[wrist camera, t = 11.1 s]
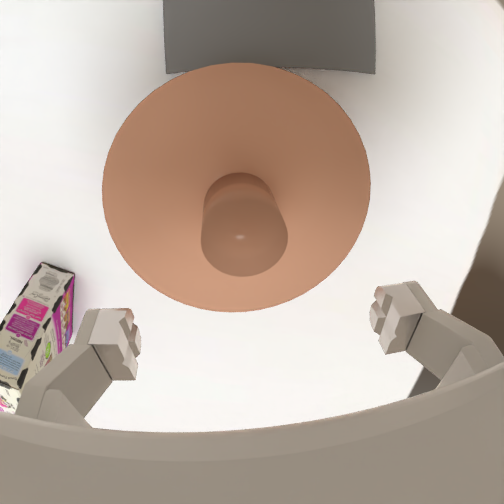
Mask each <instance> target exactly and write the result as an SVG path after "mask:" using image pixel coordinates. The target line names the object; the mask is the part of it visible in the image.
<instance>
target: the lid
mask: <svg viewBox="0 0 504 504" xmlns="http://www.w3.org/2000/svg"><path fill="white" fill-rule="evenodd" d="M370 185H371V182H370V170H369V164H368V159H367V155H366V151H365V148H364V146H363V143H362V140H361V138H360V135H359V133H358V132H357V130H356V128H355V126H354V125H353V123H352V121H351V119H350V118H349V117H348V116H347V114H346V113H345V112H344V110H343V109H342V108H341V107H340V105H338V104H337V103H336V102H335V101H334V100H333V99H332V98H331V97H330V96H329V95H328V94H327V93H326V92H324V91H323V90H322V89H320V88H319V87H317V86H316V85H314V84H313V83H311V82H310V81H308V80H306V79H304V78H302V77H300V76H298V75H296V74H294V73H291V72H288V71H285V70H282V69H279V68H276V67H273V66H267V65H261V64H255V63H225V64H217V65H210V66H207V67H203V68H199V69H196V70H193V71H190V72H187V73H185V74H183V75H180V76H178V77H176V78H174V79H172V80H170V81H168V82H167V83H165V84H164V85H162V86H161V87H159V88H157V89H156V90H154V91H153V92H152V93H151V94H150V95H148V96H147V97H146V98H145V99H144V100H143V101H142V102H140V103H139V104H138V105H137V107H136V108H135V109H134V110H133V111H132V112H131V114H130V115H129V116H128V117H127V118H126V120H125V121H124V123H123V125H122V126H121V128H120V129H119V131H118V133H117V134H116V136H115V138H114V141H113V143H112V145H111V148H110V150H109V152H108V156H107V160H106V164H105V167H104V174H103V182H102V201H103V208H104V214H105V219H106V223H107V226H108V229H109V232H110V235H111V237H112V239H113V241H114V243H115V245H116V247H117V249H118V251H119V252H120V254H121V255H122V257H123V258H124V260H125V261H126V262H127V264H128V265H129V266H130V267H131V268H132V269H133V270H134V272H135V273H136V274H137V275H138V276H140V277H141V278H142V279H143V280H144V281H145V282H146V283H147V284H149V285H150V286H152V287H153V288H155V289H156V290H157V291H159V292H160V293H162V294H164V295H166V296H168V297H170V298H172V299H174V300H176V301H179V302H181V303H183V304H186V305H189V306H193V307H196V308H200V309H205V310H211V311H219V312H247V311H254V310H261V309H265V308H269V307H273V306H276V305H279V304H282V303H285V302H287V301H290V300H292V299H294V298H296V297H298V296H300V295H302V294H304V293H306V292H307V291H309V290H310V289H312V288H314V287H315V286H317V285H318V284H319V283H320V282H322V281H323V280H324V279H326V278H327V277H328V276H329V275H330V274H331V273H332V272H333V271H334V270H335V269H336V268H337V267H338V266H339V265H340V264H341V262H342V261H343V260H344V259H345V257H346V256H347V255H348V253H349V252H350V250H351V249H352V247H353V246H354V244H355V242H356V240H357V238H358V236H359V234H360V232H361V230H362V227H363V224H364V221H365V218H366V215H367V211H368V205H369V200H370Z"/></svg>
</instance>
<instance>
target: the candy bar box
mask: <svg viewBox="0 0 504 504" xmlns="http://www.w3.org/2000/svg"><path fill="white" fill-rule="evenodd" d="M73 287H74V274H73V273H70V272H67V271H64V270H61V269H58V268H56V267H53V266H51V265H48V264H45V263H40V265H39V266H38V267H37V269H36V270H35V272H34V273H33V275H32V276H31V278H30V279H29V280H28V282H27V283H26V285H25V286H24V288H23V289H22V291H21V293H20V294H19V296H18V297H17V298H16V300H15V301H14V303H13V305H12V307H11V308H10V310H9V312H8V313H7V314H6V316H5V317H4V319H3V321H2V323H1V324H0V411H2V412H6V413H10V414H15V411H16V408H17V405H18V402H19V399H20V396H21V394H22V391H23V388H24V385H25V384H26V383H27V382H28V381H29V380H30V379H31V378H32V377H33V376H35V375H36V374H37V373H38V372H39V371H40V370H41V369H42V368H44V367H45V366H46V365H47V364H48V363H49V362H50V361H51V360H53V359H54V358H55V357H56V356H57V355H58V354H59V353H61V352H62V351H63V350H64V349H65V348H66V347H67V346H68V344H69V341H70V339H71V336H72V308H73Z"/></svg>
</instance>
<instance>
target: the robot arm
mask: <svg viewBox="0 0 504 504" xmlns="http://www.w3.org/2000/svg"><path fill="white" fill-rule="evenodd" d="M374 297H375V298H376V301H375V302H374V303H373V304H372V305H371V309H370V323H371V326H372V328H373V330H374V332H376V333H378V334H379V335H380V337H379V340H378V341H379V343H380V345H381V347H382V349H383V351H384V353H385V355H386V354H391V353H396V352H401V351H406V352H407V353H408V354H409V355H411V356H412V357H413V358H414V359H416V360H417V361H418V362H419V363H421V364H422V365H423V366H424V367H426V368H427V369H428V370H429V371H430V372H432V373H433V374H434V375H435V376H437V377H438V378H439V379H440V380H441V382H440V383H439V385H438V386H437V388H436V389H435V390H432V391H429V392H426V393H423V394H420V395H417V396H413V397H410V398H407V399H404V400H400V401H397V402H393V403H390V404H386V405H382V406H378V407H375V408H371V409H366V410H362V411H358V412H354V413H349V414H345V415H340V416H335V417H330V418H325V419H319V420H313V421H307V422H301V423H295V424H288V425H281V426H273V427H264V428H255V429H244V430H231V431H214V432H138V431H121V430H109V429H98V428H92V427H91V426H90V424H89V423H88V422H87V421H86V420H85V419H84V417H85V416H86V415H87V414H88V412H89V411H90V410H91V408H92V407H93V406H94V405H95V403H96V402H97V401H98V399H99V398H100V397H101V396H102V394H103V393H104V392H105V391H106V389H107V388H108V387H109V385H110V384H111V383H112V380H136V374H137V368H138V363H137V361H136V357H137V356H138V355H139V354H140V351H141V336H140V332H139V329H138V326H136V325H135V324H134V323H133V320H134V315H133V313H132V310H131V309H129V308H111V309H88V310H87V311H86V313H85V315H84V318H83V320H82V323H81V325H80V328H79V331H78V333H77V336H76V339H75V342H74V344H70V345H69V346H67V347H66V348H65V349H64V350H63V351H62V352H61V353H59V354H58V355H57V356H56V357H55V358H54V359H53V360H51V361H50V362H49V363H48V364H47V365H46V366H45V367H44V368H42V369H41V370H40V371H39V372H38V373H37V374H36V375H35V376H33V377H32V378H31V379H30V380H29V381H28V382H27V383H26V384H25V385H24V388H23V391H22V394H21V396H20V399H19V402H18V405H17V408H16V411H15V414H10V413H6V412H2V411H0V504H504V357H503V355H502V354H501V352H500V351H499V349H498V348H497V346H496V345H495V343H494V342H493V340H492V339H491V338H490V337H489V336H488V335H486V334H484V333H482V332H480V331H479V330H477V329H475V328H473V327H472V326H470V325H468V324H467V323H465V322H463V321H461V320H459V319H458V318H456V317H454V316H452V315H450V314H449V313H447V312H445V311H443V310H441V309H440V310H438V309H437V308H436V307H435V305H434V304H433V302H432V301H431V300H430V298H429V297H428V295H427V294H426V293H425V291H424V290H423V289H422V287H421V286H420V285H419V283H418V282H416V281H409V282H403V283H398V284H391V285H385V286H378V287H377V289H376V290H375V294H374Z"/></svg>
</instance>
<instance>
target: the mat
mask: <svg viewBox="0 0 504 504" xmlns="http://www.w3.org/2000/svg"><path fill="white" fill-rule="evenodd" d="M163 15H164V42H165V62H166V74H170V73H178V72H187V71H193V70H196V69H199V68H203V67H207V66H210V65H217V64H225V63H255V64H261V65H267V66H273V67H297V68H317V69H332V70H343V71H353V72H362V73H369V74H375V9H374V0H163Z"/></svg>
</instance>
